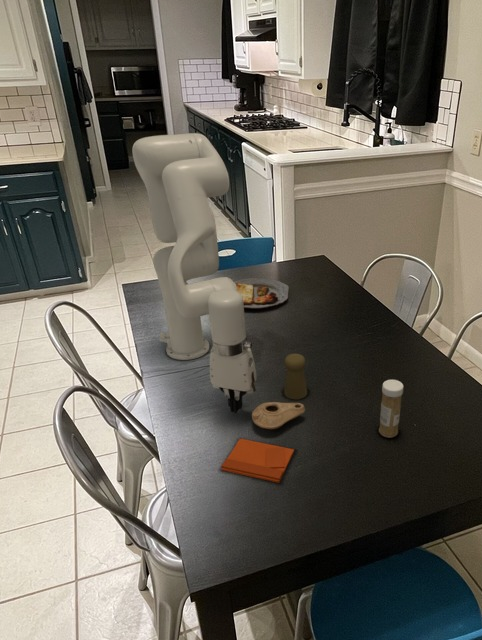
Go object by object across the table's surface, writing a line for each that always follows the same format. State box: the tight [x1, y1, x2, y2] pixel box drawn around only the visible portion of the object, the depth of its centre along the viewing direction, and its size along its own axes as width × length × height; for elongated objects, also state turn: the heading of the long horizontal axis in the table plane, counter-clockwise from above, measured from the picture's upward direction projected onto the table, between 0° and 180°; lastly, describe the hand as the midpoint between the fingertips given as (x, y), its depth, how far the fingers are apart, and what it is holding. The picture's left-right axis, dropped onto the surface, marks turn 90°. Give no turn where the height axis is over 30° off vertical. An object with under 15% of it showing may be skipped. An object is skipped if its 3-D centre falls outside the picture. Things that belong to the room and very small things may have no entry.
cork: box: [283, 353, 308, 400], centre depth 127 cm, size 6×6×11 cm
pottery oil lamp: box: [251, 401, 306, 430], centre depth 118 cm, size 9×12×7 cm
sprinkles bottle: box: [378, 379, 404, 439], centre depth 113 cm, size 5×5×13 cm
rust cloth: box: [220, 438, 295, 484], centre depth 109 cm, size 13×10×1 cm
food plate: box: [233, 277, 290, 310], centre depth 180 cm, size 25×23×4 cm
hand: (235, 409), depth 122 cm, fingers closed
